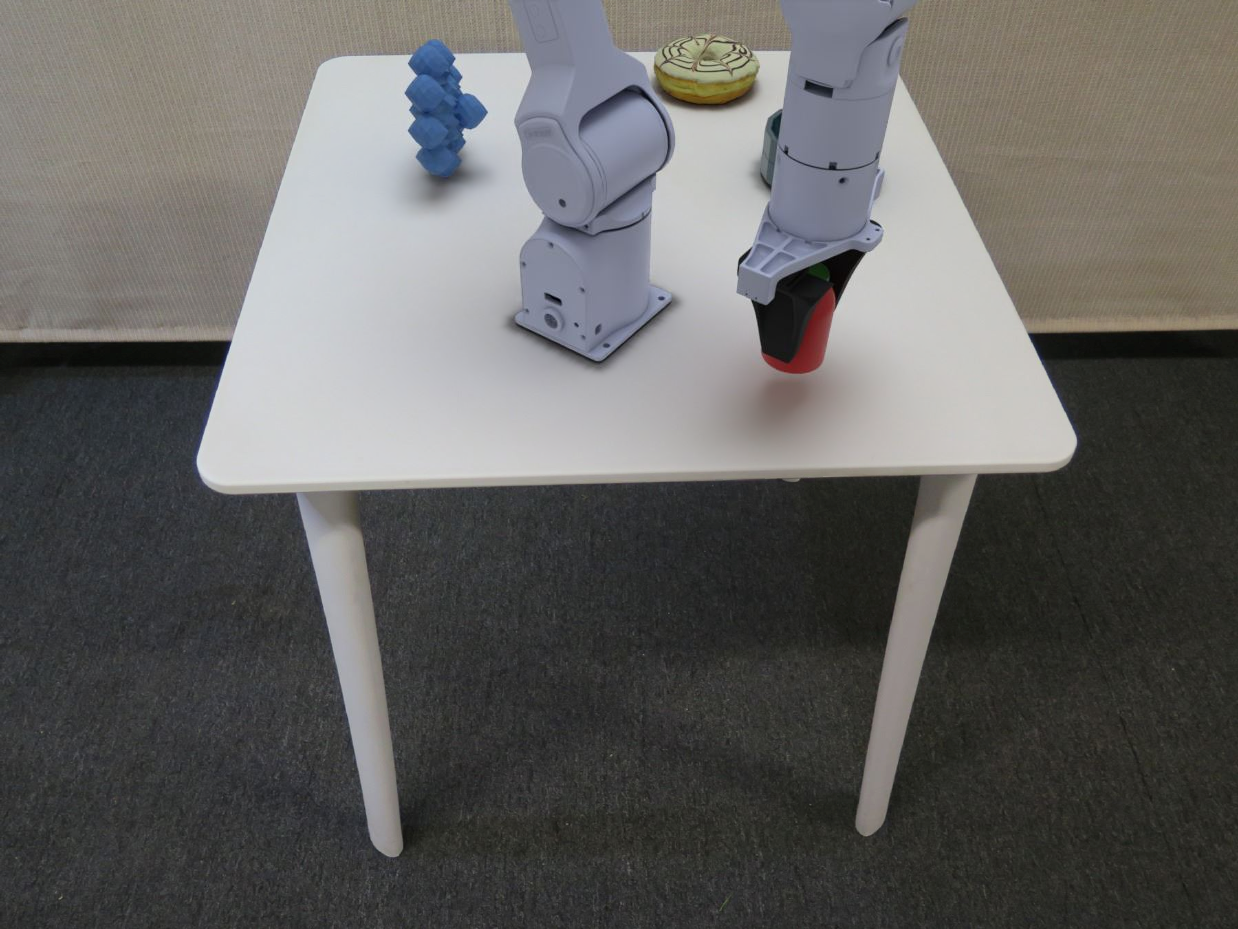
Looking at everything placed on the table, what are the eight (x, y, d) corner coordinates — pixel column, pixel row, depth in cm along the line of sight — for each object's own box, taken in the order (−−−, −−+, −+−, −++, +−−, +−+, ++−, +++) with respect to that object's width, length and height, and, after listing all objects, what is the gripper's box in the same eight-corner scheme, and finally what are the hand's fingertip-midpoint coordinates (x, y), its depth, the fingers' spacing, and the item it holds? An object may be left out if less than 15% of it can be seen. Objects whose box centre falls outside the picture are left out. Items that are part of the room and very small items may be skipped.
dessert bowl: (841, 219, 83) (850, 170, 80) (739, 182, 88) (744, 135, 84) (891, 171, 89) (902, 124, 86) (794, 138, 93) (800, 92, 90)
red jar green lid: (805, 382, 64) (821, 300, 59) (749, 357, 66) (760, 275, 61) (835, 349, 66) (853, 267, 62) (780, 326, 68) (793, 244, 63)
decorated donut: (767, 72, 103) (772, 35, 100) (741, 117, 96) (745, 79, 93) (672, 56, 106) (674, 20, 103) (640, 99, 98) (641, 61, 96)
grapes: (485, 210, 84) (471, 72, 75) (405, 208, 84) (383, 69, 75) (501, 143, 92) (490, 11, 83) (429, 141, 92) (411, 9, 84)
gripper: (833, 225, 49) (795, 423, 59) (948, 116, 58) (898, 305, 67) (713, 181, 52) (696, 376, 62) (839, 83, 60) (806, 269, 70)
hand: (795, 337), depth 65 cm, fingers closed on red jar green lid, 4 cm apart
